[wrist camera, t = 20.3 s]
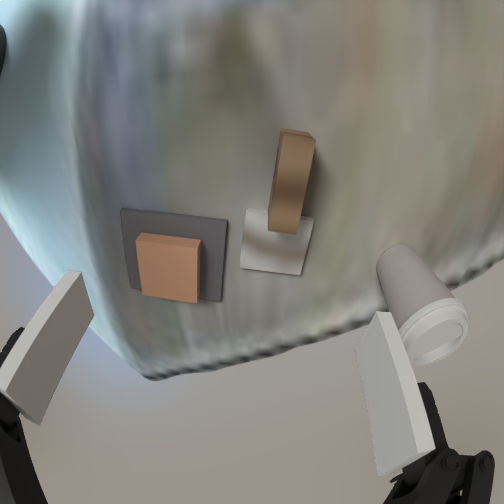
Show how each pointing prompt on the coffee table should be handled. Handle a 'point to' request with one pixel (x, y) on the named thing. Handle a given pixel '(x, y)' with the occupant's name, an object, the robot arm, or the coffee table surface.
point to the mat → (185, 227)
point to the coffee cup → (421, 306)
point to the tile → (169, 267)
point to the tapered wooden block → (282, 211)
